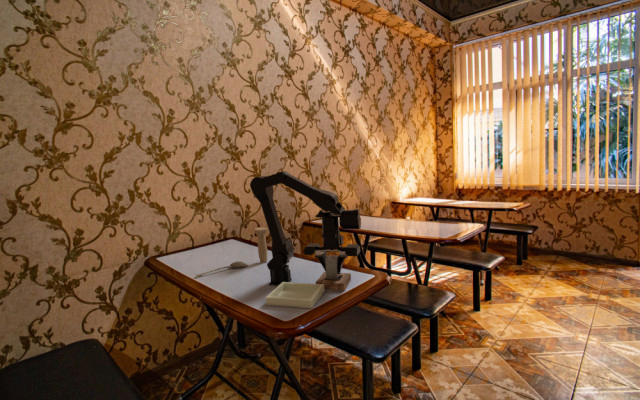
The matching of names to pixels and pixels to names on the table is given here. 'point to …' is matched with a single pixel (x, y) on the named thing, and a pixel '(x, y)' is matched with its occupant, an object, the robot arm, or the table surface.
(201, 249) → the table surface
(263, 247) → the handle
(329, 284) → the holder
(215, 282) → the table surface
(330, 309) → the table surface
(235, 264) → the soupspoon
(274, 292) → the tray
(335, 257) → the grey rectangular block
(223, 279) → the table surface
